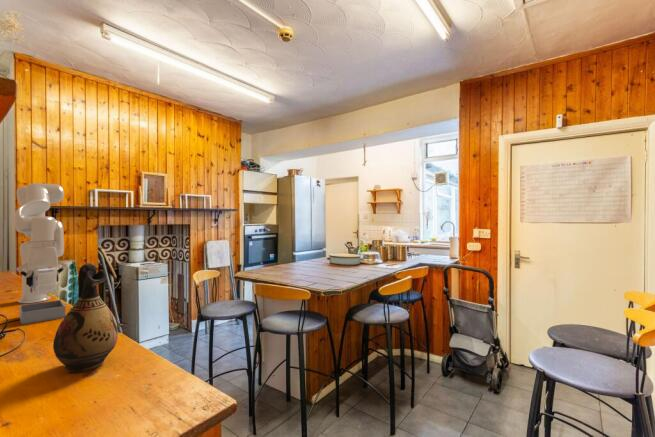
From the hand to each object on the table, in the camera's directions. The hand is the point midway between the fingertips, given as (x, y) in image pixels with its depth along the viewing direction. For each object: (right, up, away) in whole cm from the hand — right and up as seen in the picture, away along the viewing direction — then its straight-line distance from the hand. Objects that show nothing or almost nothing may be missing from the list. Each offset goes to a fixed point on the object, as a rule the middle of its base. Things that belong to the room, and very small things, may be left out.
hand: (42, 284), depth 140 cm
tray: (0, -14, 0) cm, 14 cm away
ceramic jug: (+53, -15, -44) cm, 71 cm away
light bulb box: (0, -4, 0) cm, 4 cm away
